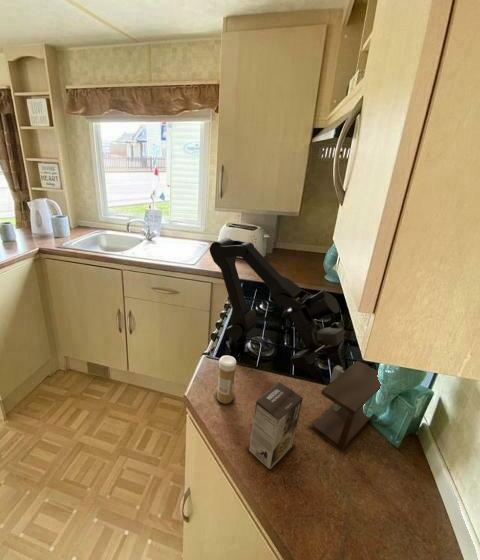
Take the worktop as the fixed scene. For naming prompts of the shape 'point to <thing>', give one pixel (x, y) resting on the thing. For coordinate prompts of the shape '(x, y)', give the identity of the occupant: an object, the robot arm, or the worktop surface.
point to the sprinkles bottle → (226, 379)
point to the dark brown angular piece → (347, 404)
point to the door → (335, 374)
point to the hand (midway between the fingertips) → (333, 376)
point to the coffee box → (274, 424)
